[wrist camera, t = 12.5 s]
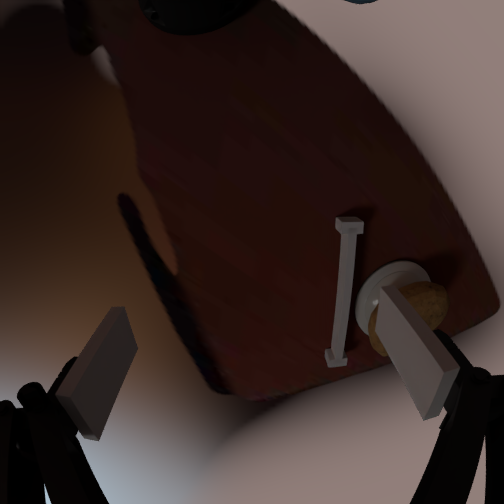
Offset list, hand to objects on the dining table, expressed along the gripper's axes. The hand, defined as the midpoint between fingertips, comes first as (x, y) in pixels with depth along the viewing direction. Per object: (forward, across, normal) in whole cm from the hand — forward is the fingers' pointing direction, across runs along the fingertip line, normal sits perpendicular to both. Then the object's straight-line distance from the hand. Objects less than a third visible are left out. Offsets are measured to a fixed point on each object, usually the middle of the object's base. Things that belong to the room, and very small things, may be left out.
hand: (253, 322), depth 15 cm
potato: (+26, +22, -17) cm, 38 cm away
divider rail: (+27, +12, -14) cm, 33 cm away
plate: (+27, +22, -17) cm, 39 cm away
